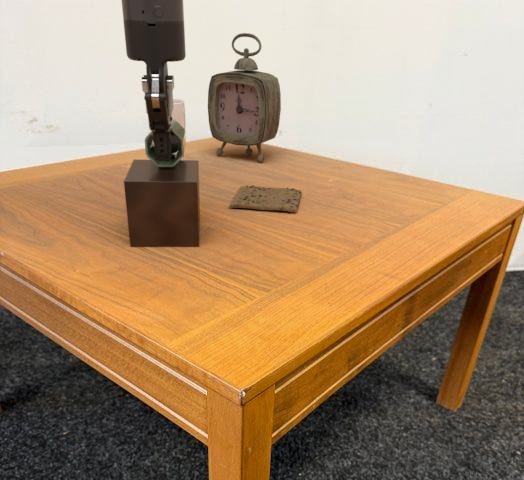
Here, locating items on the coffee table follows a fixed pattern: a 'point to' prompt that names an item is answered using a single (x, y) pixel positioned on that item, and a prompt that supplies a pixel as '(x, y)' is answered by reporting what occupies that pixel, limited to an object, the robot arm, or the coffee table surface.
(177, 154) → the cup
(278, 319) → the coffee table surface
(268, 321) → the coffee table surface
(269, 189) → the cookie
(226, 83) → the tabletop clock
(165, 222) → the block
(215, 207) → the coffee table surface
